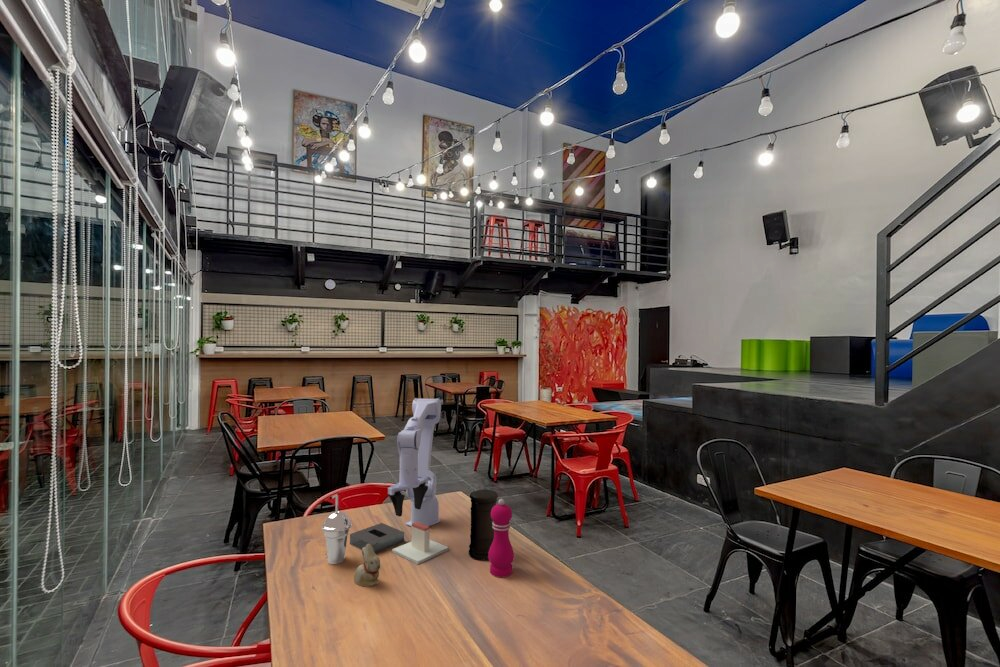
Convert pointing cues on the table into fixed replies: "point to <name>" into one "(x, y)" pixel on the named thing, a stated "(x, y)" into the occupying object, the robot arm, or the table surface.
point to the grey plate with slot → (377, 537)
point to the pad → (419, 552)
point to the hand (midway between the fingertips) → (408, 512)
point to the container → (481, 523)
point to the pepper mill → (501, 541)
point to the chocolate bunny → (368, 568)
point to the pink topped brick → (420, 536)
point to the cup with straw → (336, 534)
